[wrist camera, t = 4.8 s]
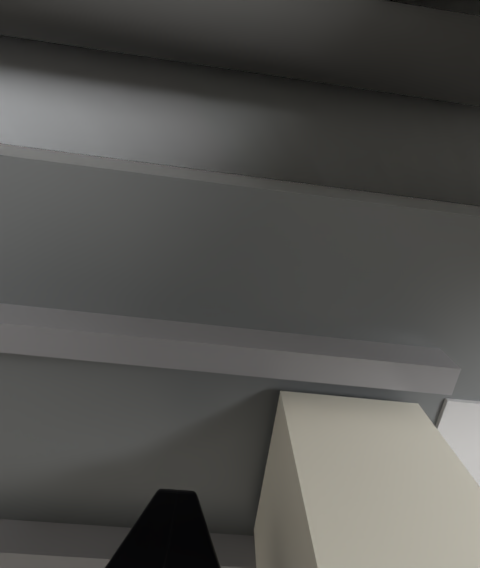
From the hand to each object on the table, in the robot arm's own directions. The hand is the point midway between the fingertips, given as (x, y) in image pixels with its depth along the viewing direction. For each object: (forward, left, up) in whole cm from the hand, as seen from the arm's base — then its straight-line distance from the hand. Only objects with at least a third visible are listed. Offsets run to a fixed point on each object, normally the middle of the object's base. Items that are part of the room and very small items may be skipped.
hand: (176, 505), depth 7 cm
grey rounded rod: (+1, -9, -5) cm, 10 cm away
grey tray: (+1, 0, -5) cm, 5 cm away
